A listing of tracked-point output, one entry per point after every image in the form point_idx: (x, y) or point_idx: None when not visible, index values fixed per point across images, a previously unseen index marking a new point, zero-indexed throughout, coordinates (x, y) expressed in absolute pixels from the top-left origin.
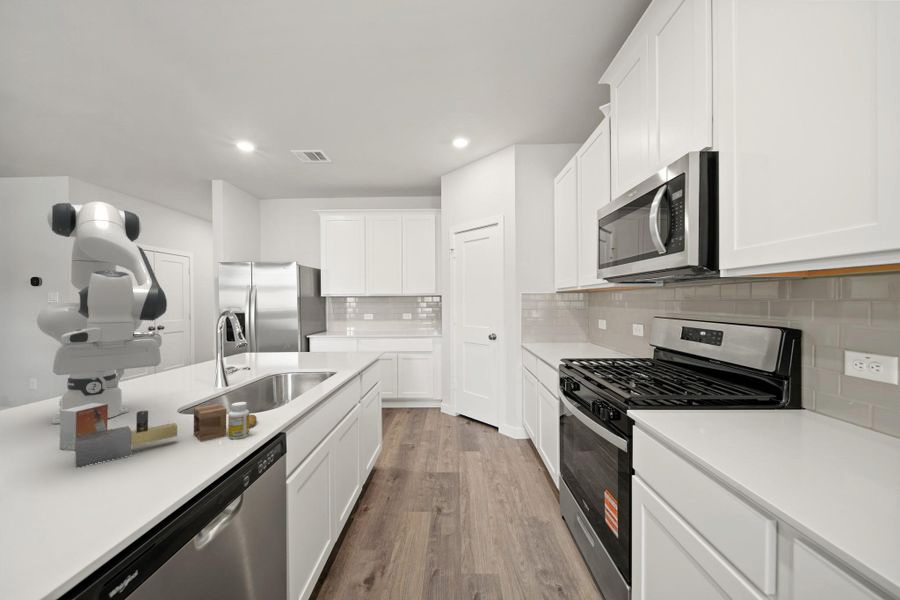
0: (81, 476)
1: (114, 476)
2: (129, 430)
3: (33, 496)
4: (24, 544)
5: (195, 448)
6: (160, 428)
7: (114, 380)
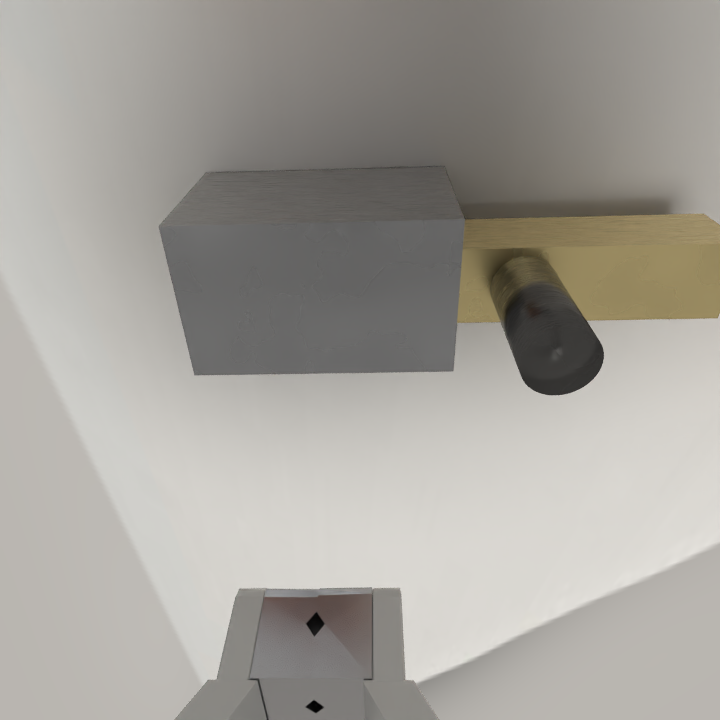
0: (260, 403)
1: (358, 472)
2: (448, 341)
3: (154, 472)
4: (211, 659)
5: (674, 387)
6: (616, 319)
7: (362, 712)
